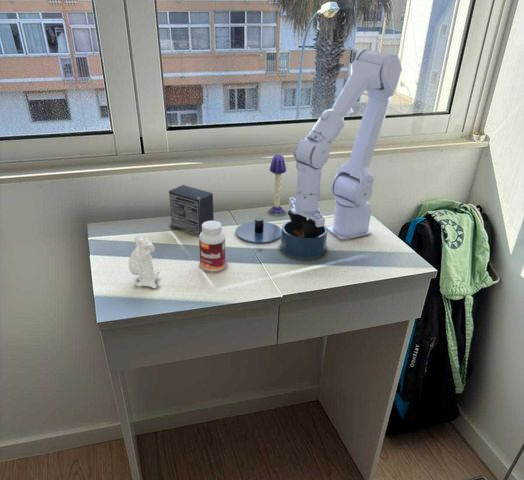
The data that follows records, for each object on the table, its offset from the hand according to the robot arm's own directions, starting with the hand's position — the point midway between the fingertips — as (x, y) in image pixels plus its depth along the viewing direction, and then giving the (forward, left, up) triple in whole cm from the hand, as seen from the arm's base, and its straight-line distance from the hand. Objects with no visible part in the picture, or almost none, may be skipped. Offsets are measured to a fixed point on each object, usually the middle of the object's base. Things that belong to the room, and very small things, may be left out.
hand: (303, 241), depth 134 cm
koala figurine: (+42, 0, -2) cm, 42 cm away
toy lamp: (-4, -23, -2) cm, 23 cm away
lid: (+7, -12, -2) cm, 14 cm away
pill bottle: (+25, -1, -2) cm, 25 cm away
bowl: (0, 0, -2) cm, 2 cm away
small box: (+22, -23, -2) cm, 32 cm away
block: (0, 0, -2) cm, 2 cm away
